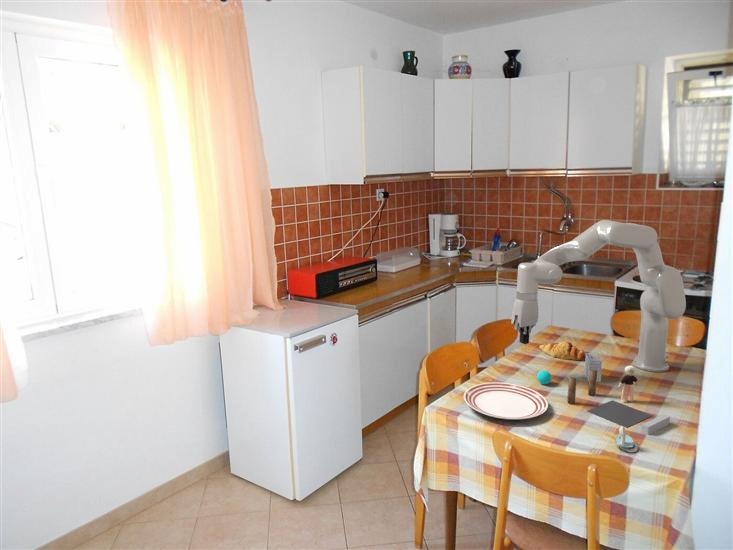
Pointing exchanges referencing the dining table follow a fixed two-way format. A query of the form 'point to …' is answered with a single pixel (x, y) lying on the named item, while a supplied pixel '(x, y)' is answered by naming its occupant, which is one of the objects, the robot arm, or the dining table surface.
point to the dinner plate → (505, 400)
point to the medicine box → (593, 365)
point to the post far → (571, 390)
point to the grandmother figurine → (628, 385)
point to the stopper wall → (655, 424)
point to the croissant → (563, 351)
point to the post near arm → (592, 382)
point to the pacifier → (625, 441)
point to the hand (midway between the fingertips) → (524, 342)
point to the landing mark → (619, 413)
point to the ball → (544, 377)
